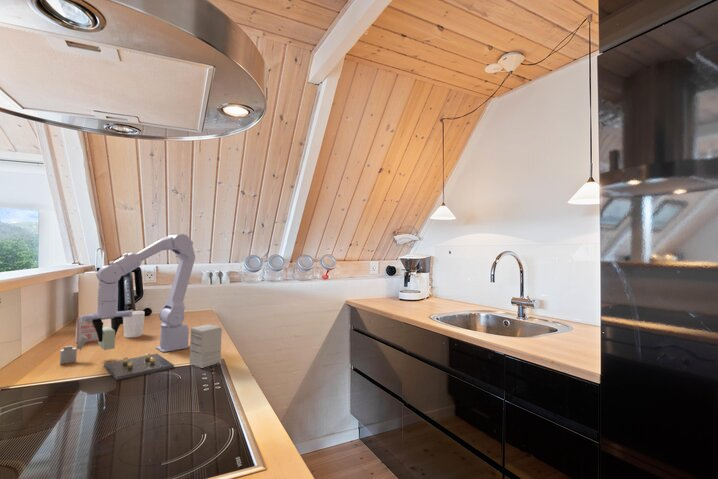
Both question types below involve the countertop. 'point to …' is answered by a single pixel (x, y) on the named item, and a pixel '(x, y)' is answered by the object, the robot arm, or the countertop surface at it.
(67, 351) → the lighter
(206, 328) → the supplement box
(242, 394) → the countertop surface
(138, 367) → the standoff plate
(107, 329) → the sage block
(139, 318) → the white cup
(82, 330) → the printed carton
